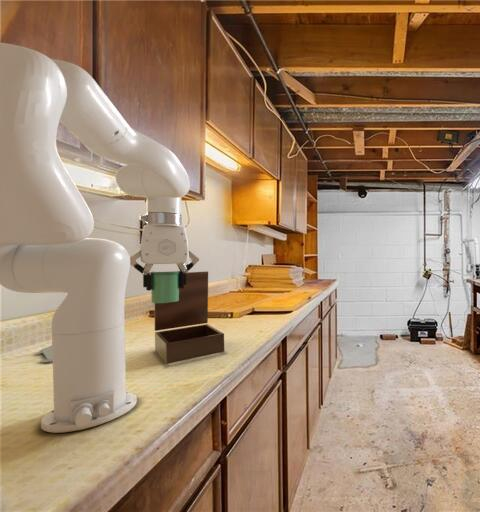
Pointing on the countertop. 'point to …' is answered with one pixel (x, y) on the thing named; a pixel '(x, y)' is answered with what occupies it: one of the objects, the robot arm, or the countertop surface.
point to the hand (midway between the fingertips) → (165, 288)
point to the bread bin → (188, 343)
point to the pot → (164, 286)
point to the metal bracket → (46, 354)
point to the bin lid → (185, 304)
